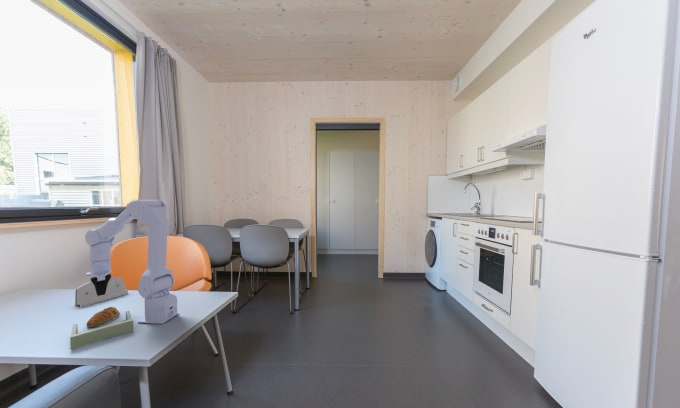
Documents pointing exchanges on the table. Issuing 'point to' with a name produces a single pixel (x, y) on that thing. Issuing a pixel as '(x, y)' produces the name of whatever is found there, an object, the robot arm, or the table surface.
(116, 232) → the robot arm
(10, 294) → the table surface
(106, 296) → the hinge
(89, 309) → the table surface
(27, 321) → the table surface
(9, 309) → the table surface
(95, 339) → the chute dock
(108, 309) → the pastry
